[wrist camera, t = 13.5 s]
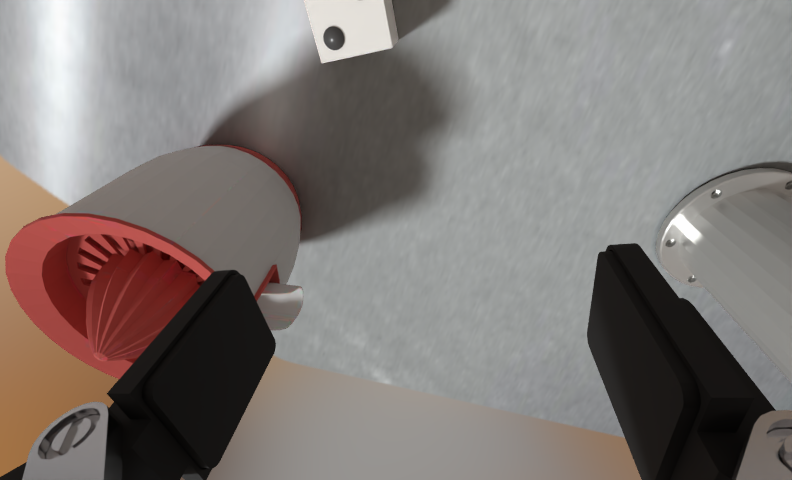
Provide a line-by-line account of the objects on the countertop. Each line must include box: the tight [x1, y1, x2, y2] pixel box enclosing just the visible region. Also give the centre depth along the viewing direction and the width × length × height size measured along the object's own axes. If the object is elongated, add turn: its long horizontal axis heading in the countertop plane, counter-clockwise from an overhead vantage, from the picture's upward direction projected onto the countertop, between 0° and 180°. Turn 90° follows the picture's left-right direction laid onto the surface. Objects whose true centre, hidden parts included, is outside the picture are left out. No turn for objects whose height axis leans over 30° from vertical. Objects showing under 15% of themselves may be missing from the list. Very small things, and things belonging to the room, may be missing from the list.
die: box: [304, 0, 399, 63], centre depth 26 cm, size 5×5×5 cm
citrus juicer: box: [5, 145, 304, 379], centre depth 30 cm, size 16×17×20 cm
